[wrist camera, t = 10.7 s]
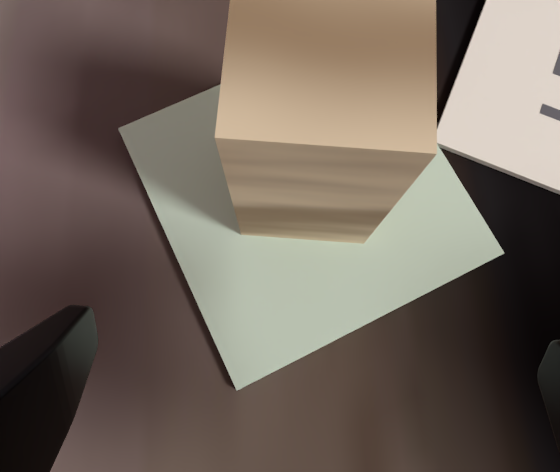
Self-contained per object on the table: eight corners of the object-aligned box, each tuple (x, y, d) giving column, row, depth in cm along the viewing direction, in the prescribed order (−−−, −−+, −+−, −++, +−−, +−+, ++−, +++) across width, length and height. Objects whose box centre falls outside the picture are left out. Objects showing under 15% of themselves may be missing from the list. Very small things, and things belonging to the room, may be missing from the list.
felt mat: (237, 390, 18) (236, 390, 18) (120, 132, 21) (117, 128, 21) (500, 255, 20) (504, 253, 19) (361, 29, 22) (362, 23, 22)
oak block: (363, 243, 19) (437, 153, 11) (240, 234, 19) (214, 137, 11) (366, 144, 20) (435, -12, 12) (250, 135, 21) (233, -26, 12)
